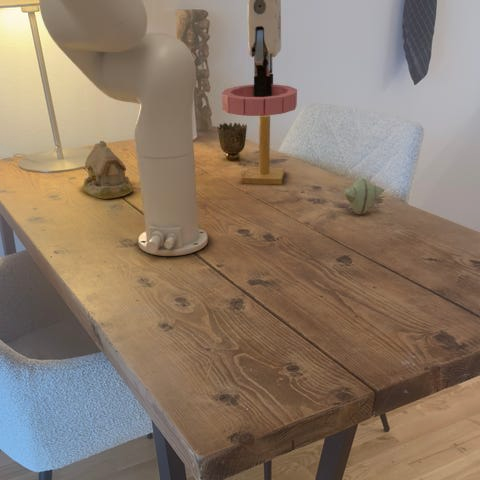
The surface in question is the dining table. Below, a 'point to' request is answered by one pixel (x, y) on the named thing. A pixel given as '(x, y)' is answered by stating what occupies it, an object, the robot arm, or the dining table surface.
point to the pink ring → (259, 101)
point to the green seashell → (362, 195)
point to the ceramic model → (105, 174)
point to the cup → (232, 139)
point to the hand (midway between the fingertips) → (263, 98)
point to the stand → (264, 159)
